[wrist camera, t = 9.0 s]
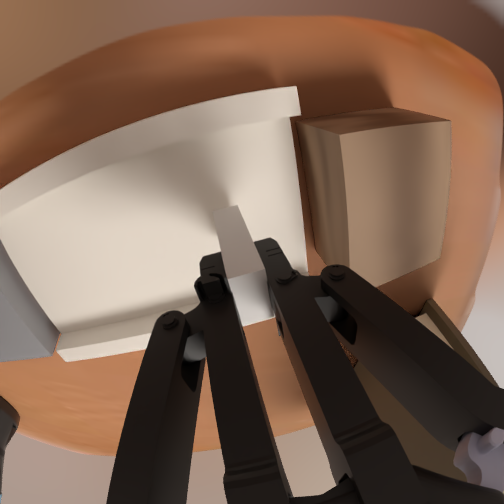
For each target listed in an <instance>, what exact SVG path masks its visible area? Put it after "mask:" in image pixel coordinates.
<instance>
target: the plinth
mask: <svg viewBox="0 0 504 504" xmlns="http://www.w3.org/2000/svg"><path fill="white" fill-rule="evenodd" d="M59 334H60V332H59V330H58V329H57V328H56V326H55V325H54V324H53V323H52V321H51V320H50V319H49V317H48V316H47V315H46V313H45V312H44V310H43V309H42V308H41V306H40V305H39V303H38V302H37V300H36V299H35V297H34V296H33V294H32V293H31V291H30V290H29V288H28V287H27V285H26V284H25V282H24V281H23V279H22V277H21V276H20V274H19V272H18V271H17V269H16V267H15V266H14V264H13V262H12V260H11V259H10V257H9V255H8V253H7V251H6V249H5V247H4V246H3V244H2V242H1V240H0V362H6V361H16V360H25V359H33V358H41V357H49V356H52V355H53V352H54V349H55V346H56V343H57V340H58V337H59Z"/></svg>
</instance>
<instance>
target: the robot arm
mask: <svg viewBox="0 0 504 504" xmlns="http://www.w3.org/2000/svg"><path fill="white" fill-rule="evenodd" d="M213 217H214V221H215V226H216V231H217V235H218V240H219V245H220V249H221V252H217V253H213V254H210V255H206V256H203V257H202V259H201V261H200V263H199V266H200V275H201V276H200V277H198V278H197V280H196V281H195V283H194V288H195V291H196V293H197V295H198V298H199V300H200V303H199V305H198V306H197V307H196V308H194V309H193V310H191V311H189V312H187V313H185V314H183V313H182V312H180V311H177V310H172V311H167V312H166V313H164V314H162V315H161V316H160V317H159V318H158V319H157V320H156V322H155V324H154V327H153V330H152V333H151V336H150V339H149V342H148V345H147V348H146V351H145V354H144V357H143V360H142V363H141V367H140V370H139V373H138V376H137V380H136V383H135V386H134V390H133V393H132V397H131V400H130V404H129V407H128V411H127V414H126V418H125V422H124V426H123V430H122V433H121V437H120V442H119V446H118V450H117V454H116V458H115V463H114V467H113V472H112V477H111V482H110V487H109V492H108V497H107V503H106V504H186V500H187V491H188V483H189V474H190V466H191V458H192V450H193V443H194V435H195V428H196V421H197V414H198V407H199V400H200V393H201V386H202V380H203V373H204V367H205V361H206V359H205V357H207V364H208V371H209V378H210V385H211V392H212V398H213V404H214V410H215V416H216V422H217V428H218V433H219V439H220V444H221V449H222V455H223V460H224V464H225V474H224V477H223V484H224V490H225V495H226V499H227V503H228V504H504V494H503V491H504V389H502V388H499V387H497V386H494V385H493V384H492V383H491V382H490V381H489V380H488V379H487V378H485V377H484V376H483V375H482V374H481V373H480V372H479V371H478V370H476V369H475V368H474V367H473V366H472V365H471V364H470V363H468V362H467V361H466V360H465V359H464V358H463V357H461V356H460V355H459V354H458V353H457V352H456V351H454V350H453V349H452V348H451V347H450V346H448V345H447V344H446V343H445V342H444V341H442V340H441V339H440V338H439V337H438V336H436V335H435V334H434V333H433V332H431V331H430V330H429V329H428V328H427V327H425V326H424V325H423V324H422V323H420V322H419V321H418V320H417V319H415V318H414V317H413V316H412V315H410V314H409V313H408V312H407V311H405V310H404V309H403V308H401V307H400V306H399V305H398V304H396V303H395V302H394V301H392V300H391V299H390V298H389V297H387V296H386V295H385V294H383V293H382V292H381V291H379V290H378V289H377V288H376V287H374V286H373V285H372V284H370V283H369V282H368V281H366V280H365V279H364V278H362V277H361V276H360V275H358V274H357V273H356V272H354V271H353V270H351V269H350V268H349V267H347V266H345V265H340V264H334V265H330V266H327V267H325V268H324V269H323V270H322V272H321V275H320V276H304V275H301V274H300V273H299V272H298V271H297V270H295V269H293V268H292V266H291V265H290V263H289V261H288V259H287V258H286V256H285V254H284V253H283V251H282V249H281V248H280V245H279V244H278V242H277V241H276V240H274V239H272V238H271V237H270V238H266V239H262V240H258V241H255V242H253V240H252V237H251V235H250V233H249V230H248V228H247V226H246V224H245V221H244V219H243V217H242V214H241V212H240V210H239V208H238V205H235V206H231V207H227V208H224V209H220V210H216V211H213ZM274 314H275V317H276V322H277V327H278V333H279V336H281V337H282V339H283V342H284V345H285V347H286V350H287V353H288V355H289V358H290V360H291V363H292V366H293V368H294V371H295V374H296V376H297V379H298V381H299V384H300V387H301V389H302V392H303V394H304V397H305V400H306V402H307V405H308V407H309V410H310V413H311V415H312V418H313V421H314V423H315V426H316V428H317V431H318V434H319V436H320V439H321V441H322V444H323V446H324V449H325V452H326V454H327V457H328V460H329V464H330V468H331V471H332V475H333V478H334V480H335V483H336V485H337V486H335V487H334V488H332V489H331V490H329V491H327V492H326V493H324V494H321V495H316V496H305V497H293V495H292V492H291V489H290V486H289V483H288V480H287V477H286V474H285V472H284V468H283V465H282V462H281V459H280V455H279V452H278V449H277V446H276V442H275V439H274V436H273V432H272V429H271V426H270V422H269V419H268V415H267V412H266V408H265V405H264V402H263V398H262V395H261V391H260V387H259V384H258V380H257V377H256V373H255V370H254V366H253V362H252V359H251V355H250V351H249V348H248V344H247V340H246V337H245V333H244V330H243V327H242V326H243V325H247V324H250V323H254V322H257V321H261V320H264V319H268V318H271V317H274ZM338 340H339V341H340V342H341V343H342V344H343V345H344V346H345V347H346V348H347V349H348V350H349V351H350V352H351V353H352V354H353V355H354V356H355V357H356V358H357V359H358V360H359V361H360V362H361V363H362V364H363V365H364V366H365V368H366V369H367V370H368V371H369V372H370V373H371V374H372V375H373V376H374V377H375V378H376V379H377V380H378V381H379V382H380V383H381V384H382V385H383V386H384V387H385V388H386V389H387V390H388V391H389V392H390V393H391V394H392V395H393V396H394V397H395V398H396V399H397V400H398V401H399V402H400V403H401V404H402V405H403V406H404V408H405V409H406V410H407V411H408V412H409V413H410V414H411V415H412V416H413V417H414V418H415V419H416V420H417V421H418V422H419V423H420V424H421V425H422V426H423V427H424V428H425V429H426V430H427V431H428V432H429V433H430V434H431V435H432V436H433V437H434V438H435V439H436V440H437V441H439V442H440V443H441V444H443V445H444V446H446V447H447V448H449V449H451V450H453V451H455V457H454V460H453V462H454V465H455V467H458V468H459V469H460V470H461V471H463V472H464V473H465V475H466V477H467V482H464V481H461V480H458V479H454V478H451V477H448V476H445V475H442V474H439V473H436V472H433V471H430V470H427V469H424V468H422V467H419V466H416V465H411V463H410V461H409V459H408V457H407V455H406V453H405V451H404V449H403V447H402V445H401V443H400V441H399V439H398V437H397V435H396V433H395V432H394V430H393V428H392V427H391V426H390V425H389V424H387V423H385V422H383V421H382V420H381V419H380V418H379V416H378V414H377V412H376V410H375V408H374V406H373V405H372V403H371V401H370V399H369V397H368V395H367V393H366V391H365V389H364V387H363V385H362V384H361V382H360V380H359V378H358V376H357V374H356V372H355V370H354V369H353V367H352V365H351V363H350V361H349V359H348V358H347V356H346V354H345V352H344V350H343V348H342V347H341V345H340V343H339V341H338ZM19 420H20V416H19V414H18V413H17V411H16V410H15V409H14V408H13V407H12V406H11V405H10V404H9V403H7V402H6V401H5V400H4V399H3V398H1V397H0V503H1V497H2V493H1V488H2V473H3V463H4V454H5V449H6V446H7V444H8V443H9V441H10V440H11V437H12V436H13V435H14V433H15V432H16V430H17V428H18V425H19Z"/></svg>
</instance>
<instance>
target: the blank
mask: <svg viewBox="0 0 504 504" xmlns="http://www.w3.org/2000/svg"><path fill="white" fill-rule="evenodd" d="M295 123H296V128H297V133H298V138H299V144H300V149H301V154H302V160H303V166H304V172H305V178H306V184H307V190H308V197H309V204H310V211H311V218H312V225H313V233H314V240H315V249H316V251H317V253H318V254H319V255H320V257H321V258H322V259H323V261H324V262H325V264H326V265H327V266H330V265H334V264H340V265H345V266H347V267H349V268H350V269H351V270H353V271H354V272H356V273H357V274H358V275H360V276H361V277H362V278H364V279H365V280H366V281H368V282H369V283H370V284H372V285H373V286H374V287H377V286H380V285H382V284H385V283H387V282H389V281H392V280H394V279H396V278H399V277H401V276H403V275H405V274H408V273H410V272H412V271H414V270H416V269H419V268H421V267H423V266H425V265H427V264H429V263H431V262H434V261H436V260H438V259H440V255H441V250H442V244H443V238H444V232H445V226H446V219H447V211H448V202H449V191H450V178H451V155H452V129H451V121H450V120H446V119H443V118H439V117H435V116H431V115H427V114H423V113H418V112H414V111H409V110H404V109H399V108H394V107H392V108H381V109H371V110H363V111H355V112H347V113H340V114H334V115H328V116H322V117H316V118H310V119H305V120H300V121H295Z"/></svg>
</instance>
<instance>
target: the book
mask: <svg viewBox="0 0 504 504" xmlns="http://www.w3.org/2000/svg"><path fill="white" fill-rule="evenodd" d="M415 319H417V320H418V321H419V322H420V323H422V324H423V325H424V326H425V327H427V328H428V329H429V330H430V331H431V332H433V333H434V334H435V335H436V336H438V337H439V338H440V339H441V340H442V341H444V342H445V343H446V344H447V345H448V346H450V347H451V348H452V349H453V350H454V351H456V352H457V353H458V354H459V355H460V356H461V357H463V358H464V359H465V360H466V361H467V362H468V363H470V364H471V365H472V366H473V367H474V368H475V369H476V370H478V371H479V372H480V373H481V374H482V375H483V376H484V377H485V378H487V379H488V380H489V381H490V382H491V383H492V384H493V385H494V386H497V387H499V386H498V384H497V383H496V381H495V380H494V378H493V377H492V375H491V374H490V372H489V371H488V370H487V368H486V367H485V365H484V364H483V362H482V361H481V359H480V358H479V357H478V356H477V354H476V353H475V351H474V350H473V349H472V347H471V346H470V345H469V343H468V342H467V340H466V339H465V338H464V337H463V335H462V334H461V333H460V331H459V330H458V329H457V328H456V326H455V325H454V324H453V323H452V321H451V320H450V319H449V318H448V316H447V315H446V314H445V313H444V312H443V310H442V309H441V308H440V307H439V306H438V304H437V303H436V302H435V301H434V300H433V299H430V300H427V301H426V303H425V305H424V307H423V309H422V311H421V313H420V315H419V316H418V317H416V318H415ZM354 370H355V372H356V374H357V376H358V378H359V380H360V382H361V384H362V385H363V387H364V389H365V391H366V393H367V395H368V397H369V399H370V401H371V403H372V405H373V406H374V408H375V410H376V412H377V414H378V416H379V418H380V419H381V420H382V421H383V422H385V423H387V424H389V425H390V426H391V427H392V428H393V430H394V432H395V433H396V435H397V437H398V439H399V441H400V443H401V445H402V447H403V449H404V451H405V453H406V455H407V457H408V459H409V461H410V463H411V465H416V466H419V467H422V468H424V469H427V470H430V471H433V472H436V473H439V474H442V475H445V476H448V477H451V478H454V479H458V480H461V481H464V482H467V477H466V475H465V473H464V472H463V471H461V470H460V469H459V468H458V467H455V465H454V462H453V460H454V457H455V451H453V450H451V449H449V448H447V447H446V446H444V445H443V444H441V443H440V442H439V441H437V440H436V439H435V438H434V437H433V436H432V435H431V434H430V433H429V432H428V431H427V430H426V429H425V428H424V427H423V426H422V425H421V424H420V423H419V422H418V421H417V420H416V419H415V418H414V417H413V416H412V415H411V414H410V413H409V412H408V411H407V410H406V409H405V408H404V406H403V405H402V404H401V403H400V402H399V401H398V400H397V399H396V398H395V397H394V396H393V395H392V394H391V393H390V392H389V391H388V390H387V389H386V388H385V387H384V386H383V385H382V384H381V383H380V382H379V381H378V380H377V379H376V378H375V377H374V376H373V375H372V374H371V373H370V372H369V371H368V370H367V369H366V368H365V366H364V365H363V364H362V363H361V362H360V361H358V362H357V364H356V366H355V367H354ZM503 494H504V491H503Z"/></svg>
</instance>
